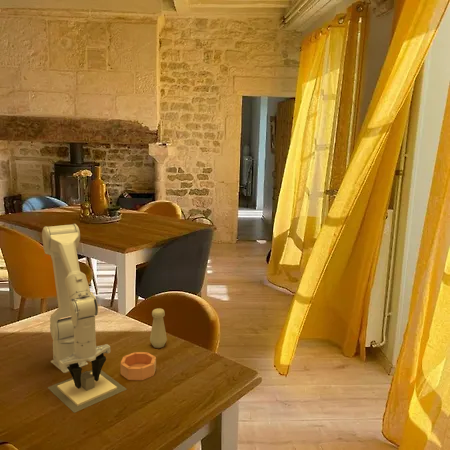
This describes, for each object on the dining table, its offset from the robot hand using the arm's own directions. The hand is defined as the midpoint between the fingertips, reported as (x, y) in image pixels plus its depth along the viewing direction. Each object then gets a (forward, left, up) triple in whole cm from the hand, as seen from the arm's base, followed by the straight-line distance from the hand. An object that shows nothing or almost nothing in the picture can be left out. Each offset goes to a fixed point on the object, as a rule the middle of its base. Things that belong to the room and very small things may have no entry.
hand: (86, 383), depth 128 cm
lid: (0, 0, -2) cm, 2 cm away
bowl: (+2, +16, -2) cm, 16 cm away
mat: (0, 0, -2) cm, 2 cm away
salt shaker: (-8, +31, -2) cm, 32 cm away
